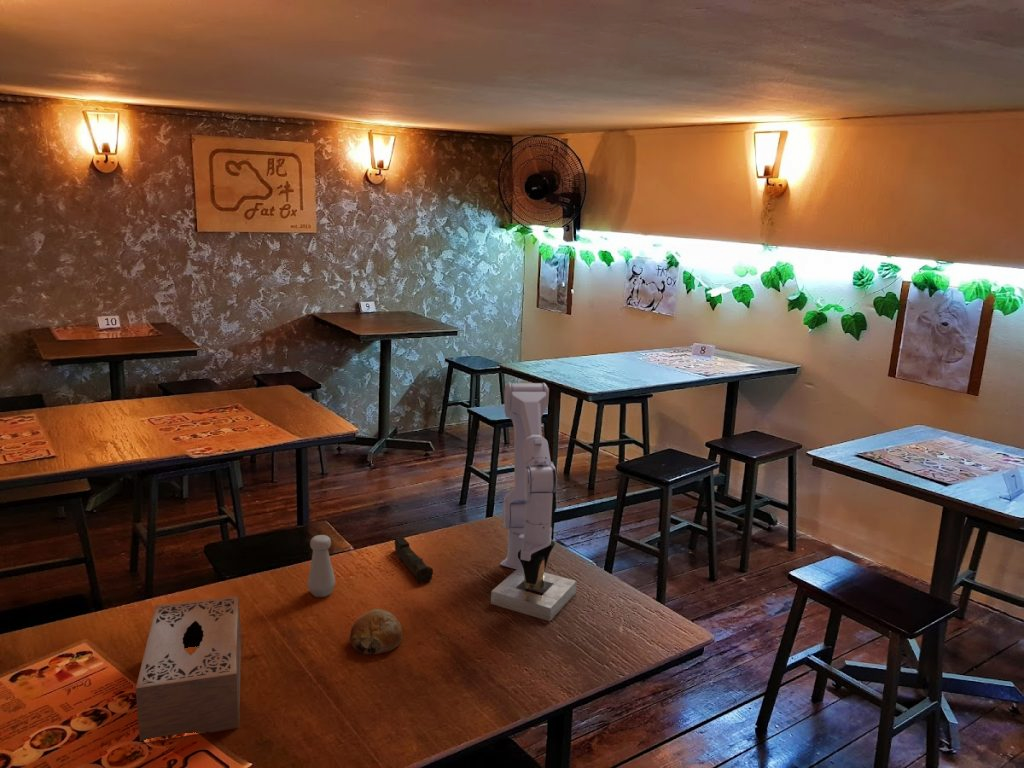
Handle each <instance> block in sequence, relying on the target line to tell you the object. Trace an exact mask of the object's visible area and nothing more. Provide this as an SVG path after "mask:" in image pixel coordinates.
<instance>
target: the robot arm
mask: <svg viewBox="0 0 1024 768" xmlns="http://www.w3.org/2000/svg"><path fill="white" fill-rule="evenodd" d="M503 392H504V394H503V395H504V397H503V399H504V400H503V401H504V414H505V417H506V418H508V419H510V420H511V422H512V425H513V441H514V442H513V444H514V449H513V450H514V452H513V454H514V455H513V456H514V458H513V459H514V488H513V489H511V490H510V491H509V492H508V493H506V494H505V495H504V497H503V502H502V524H503V527H504V528H505V529H506V530H507V529H508V532H507V533H508V534H507V554H506V558H505V559H503V560H502V561H501V562H500V566H503V567H507V568H509V569H510V568H511V569H514V570H516V569H518V568H519V567H520V566H522V567H523V569H524V574H525V579H526V582H527V583H530V584H536V582H537V579H538V574H539V569H540V565H541V563H542V561H543V559H544V560H545V561H544V572H546V567H547V563H548V560H549V557H550V554H551V553H552V550H553V548H554V547H555V545H556V543H555V541H553V540H552V535H553V534H552V532H553V527H552V517H553V515H552V512H553V495H554V494H553V493H556V490H557V483H558V476H557V470H556V467H555V465H554V461H551V454H550V448H549V447H550V446H549V443H548V442H549V441H548V440H547V439H546V438H545V437H543V435H542V417H543V415H544V414H545V412H546V408H547V406H548V404H549V387H548V385H547V384H546V382H539V383H538V382H529V383H528V382H521V383H520V382H513V383H512V382H510V381H509V382H506V384H505V387H504V391H503ZM515 501H517V502H515ZM519 501H520V502H519Z"/></svg>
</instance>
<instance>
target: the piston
mask: <svg viewBox="0 0 1024 768" xmlns="http://www.w3.org/2000/svg"><path fill="white" fill-rule="evenodd" d="M544 561H545V560H544V559H543V561H542V563H541V565H540V569H539V574H538V579H537V582H536V584H530V583H527V582H526V579H525V574H524V586H525V587H526V588H527V590H530V589H531V591H534V590H538V589H541V588H543V587H544V572H545V571H544Z"/></svg>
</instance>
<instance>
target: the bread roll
mask: <svg viewBox="0 0 1024 768" xmlns="http://www.w3.org/2000/svg"><path fill="white" fill-rule="evenodd" d="M402 629H403V628H402V625H401V622H400V621H399V620H398V618H396V616H395V615H394V614H392V613H391V612H389V611H388V610H384V609H380V608H373V609H371V610H370V611H367V612H365V613H363V615H361V616H358V618H357V619H356V620H355V622H354V623H353V624H352V627H351V629H350V634H349V642H350V645H351V647H352V648H353V649H354V650H356V651H357V652H359V653H361V654H363V655H381V654H383V653H388V652H391V651H392V650H394V649H395V648H396V647H398V646H399V645H400V643H401V642H402V640H403V630H402Z"/></svg>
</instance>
